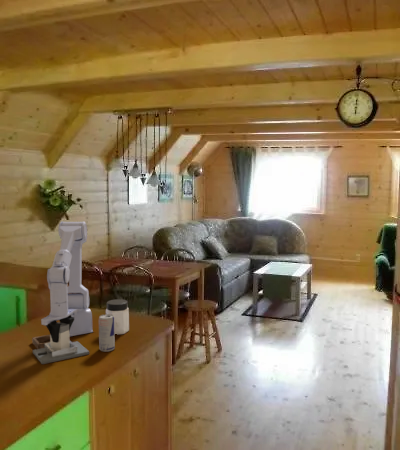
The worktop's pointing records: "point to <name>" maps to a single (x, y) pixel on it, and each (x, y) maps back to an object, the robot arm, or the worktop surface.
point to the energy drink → (106, 333)
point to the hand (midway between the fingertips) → (60, 339)
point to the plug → (61, 338)
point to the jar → (119, 315)
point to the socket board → (59, 352)
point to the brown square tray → (40, 339)
